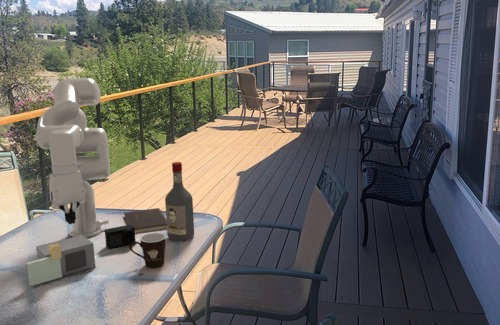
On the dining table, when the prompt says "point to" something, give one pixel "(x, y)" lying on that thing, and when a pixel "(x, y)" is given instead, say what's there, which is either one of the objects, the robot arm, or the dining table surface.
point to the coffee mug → (152, 249)
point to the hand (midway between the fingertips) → (70, 222)
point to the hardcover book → (146, 220)
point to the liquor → (179, 208)
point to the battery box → (71, 257)
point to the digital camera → (120, 236)
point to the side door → (46, 267)
